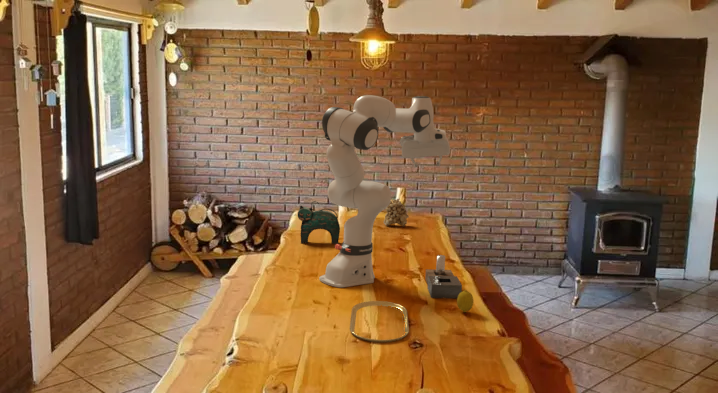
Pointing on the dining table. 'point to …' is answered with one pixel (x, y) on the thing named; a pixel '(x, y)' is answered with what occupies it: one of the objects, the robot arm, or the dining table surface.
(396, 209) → the mineral formation
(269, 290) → the dining table surface
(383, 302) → the rounded metal frame
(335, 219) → the ceramic cat
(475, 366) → the dining table surface
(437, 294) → the grey square-hole block
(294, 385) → the dining table surface
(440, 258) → the steel peg
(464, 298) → the lemon
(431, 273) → the socket block
